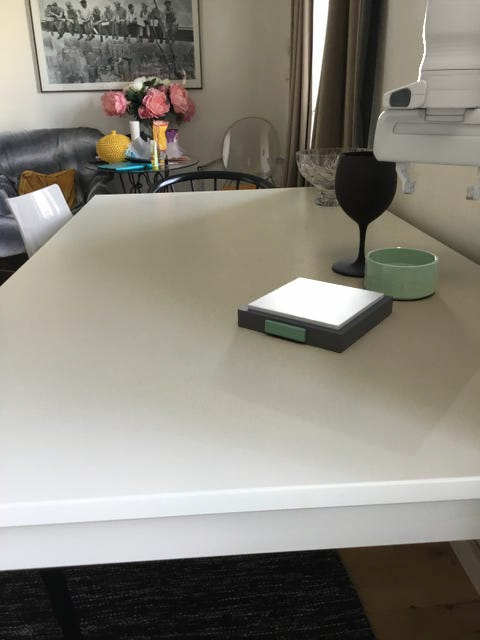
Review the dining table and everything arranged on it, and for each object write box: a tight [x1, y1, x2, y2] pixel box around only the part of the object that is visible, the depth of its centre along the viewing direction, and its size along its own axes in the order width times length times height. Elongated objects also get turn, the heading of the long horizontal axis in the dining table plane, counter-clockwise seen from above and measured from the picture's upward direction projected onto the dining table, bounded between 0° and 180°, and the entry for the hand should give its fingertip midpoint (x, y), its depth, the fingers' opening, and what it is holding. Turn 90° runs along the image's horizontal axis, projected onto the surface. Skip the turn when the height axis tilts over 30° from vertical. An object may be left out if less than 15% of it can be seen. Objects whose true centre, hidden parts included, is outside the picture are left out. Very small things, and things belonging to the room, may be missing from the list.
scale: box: [237, 277, 394, 354], centre depth 80 cm, size 16×17×3 cm
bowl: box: [363, 246, 439, 301], centre depth 90 cm, size 11×11×6 cm
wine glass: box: [331, 150, 398, 279], centre depth 98 cm, size 10×10×20 cm
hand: (439, 196), depth 82 cm, fingers open, 8 cm apart
